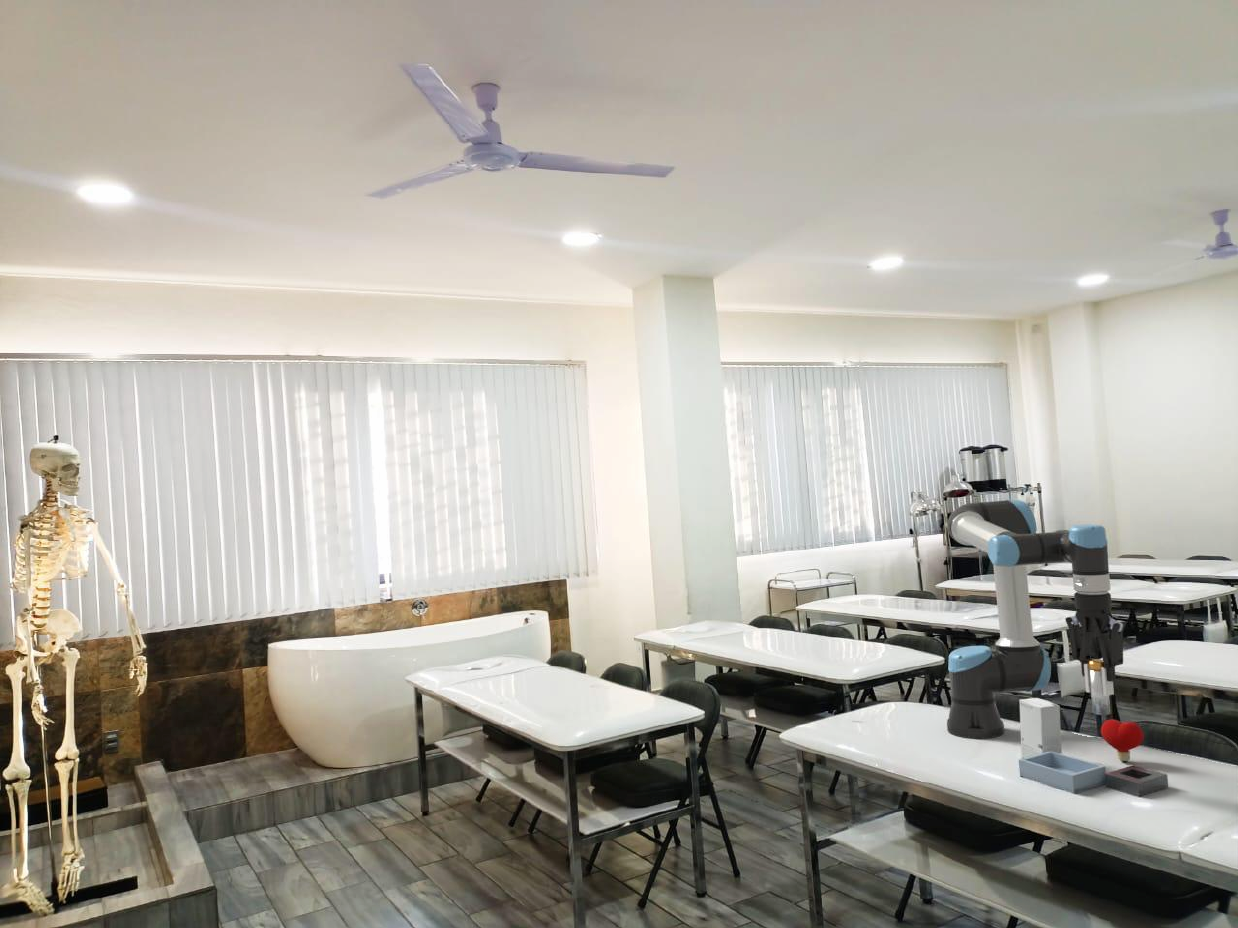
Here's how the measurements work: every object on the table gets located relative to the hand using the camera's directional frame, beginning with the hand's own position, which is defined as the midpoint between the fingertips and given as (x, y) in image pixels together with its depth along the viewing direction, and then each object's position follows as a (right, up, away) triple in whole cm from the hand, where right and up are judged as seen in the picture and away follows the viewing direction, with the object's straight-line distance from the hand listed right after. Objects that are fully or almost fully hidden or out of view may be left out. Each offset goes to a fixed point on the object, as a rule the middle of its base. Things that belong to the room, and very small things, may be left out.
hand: (1099, 692), depth 203 cm
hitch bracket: (+6, -20, -4) cm, 22 cm away
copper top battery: (0, -5, 0) cm, 5 cm away
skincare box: (-4, -22, +18) cm, 29 cm away
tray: (-7, -22, +4) cm, 23 cm away
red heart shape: (+13, -21, +13) cm, 28 cm away
